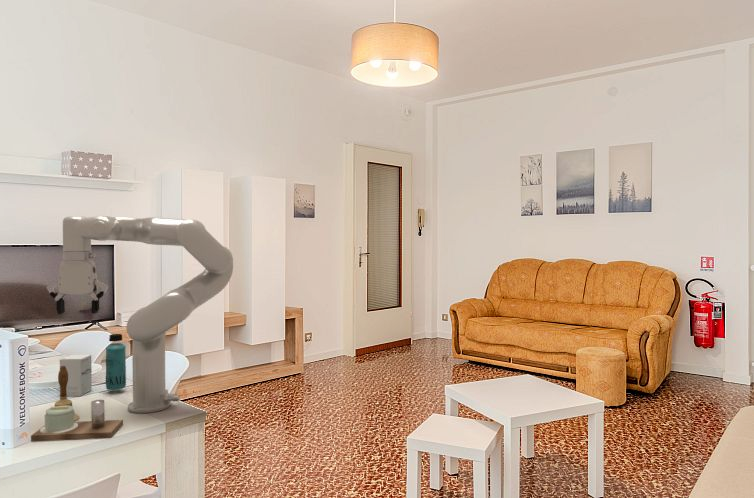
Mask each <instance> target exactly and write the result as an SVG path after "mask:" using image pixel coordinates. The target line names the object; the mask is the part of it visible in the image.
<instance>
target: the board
mask: <svg viewBox="0 0 754 498" xmlns="http://www.w3.org/2000/svg"><path fill="white" fill-rule="evenodd" d="M104 421H105V426H104V427H102V428H97V429H93V428H92V421H91V420H87V421H85V420H83V421H75V422H74V426H73V427H71V428H70V429H66V430H62V431H52V432H49V431H47V430H45V425H43V426H42V427H40V428H39V429H38V430H36V431H35V432H34V433H32V434H31V435H30V442H42V441H43V442H44V441H45V442H46V441H47V442H49V441H66V440H67V441H69V440H90V439H89V438H95V439H111V438H112V437H113V436H114V435H115V434H116V433H117V432H118V431H120V429H121V428H122V427H123V426H122V425H124V419H111V420H110V419H109V420H108V419H107V420H106V419H104ZM121 426H122V427H121ZM120 427H121V428H120ZM119 428H120V429H119Z"/></svg>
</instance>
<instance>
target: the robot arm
mask: <svg viewBox="0 0 754 498" xmlns="http://www.w3.org/2000/svg"><path fill="white" fill-rule="evenodd" d="M92 240H93V241H101V242H102V241H103V242H105V241H119V242H120V241H121V242H122V241H123V242H136V243H144V244H146V245H155V246H157V245H158V246H174V247H175V246H176V247H183V248H184V249H185V250H186V251H187V253H189V254H190V255H191V256H192V257H193V258H194V259H195V260H196V261H197V262H198V263H199V264H201V266H202V267H203V268H204V270H203V271H202V272H201V273H199V274H198V275H197V276H195V277H193V278H191V280H189V281H187V282H185V283H184V284H182V285H180V286H178V287H177V288H174V289H171V290H170V291H168V292H167V293H165V294H164V295H162V296H161V297H160V298H158V299H156V300H154V301H153V302H151V303H150V304H148V305H146V306H145V307H142V308H140V309H138V310H137V311H135V312H134V313H133V314H132V315H131V316H130V317H129V318H128V320H127V322H126V333H127V335H128V337H129V338H130V339H131V340H132V358H131V359H132V401H131V402H130V403H129V404H128V405H127V410H128V411H129V412H131V413H135V414H139V413H140V414H146V413H147V414H148V413H155V412H159V411H162V410H166V409H168V408H170V406H171V405H172V402H179V401H180V399H181V398H180V394H178V393H170V392H169V389H166V333H167V332H168V331H169V330H171V329H172V328H173V329H174V327H176V326H178V325H179V324H181V323H182V322H183V321H185V320H186V319H187V318H188V317H189V316H190V315H191V313H192V312H194V311H195V310H197V308H199V307H201V306H202V305H203V304H205V303H207V302H208V301H210V300H211V299H212V298H214V297H215V296H217V295H218V294H220V293H221V292H222V291H223V290H224V289H225V287H226V286H227V285H228V283H229V282H230V280H231V277H232V276H233V272H234V271H233V270H234V258H233V257H234V256H233V253H232V252H231V250H230V249H229V248H228V247H226V246H223V245H222V244H221V243H220V242H219V241H218V240H217V239H216V238H215V237H214V236H213V235H212V234H211V233H210V232H209V231H208V230H207V229H206V227H205V225H204V224H203V223H202V222H201V221H199V220H195V219H191V218H190V219H184V218H169V217H168V218H167V217H156V216H155V217H153V216H152V217H145V218H135V217H117V216H107V215H106V216H105V215H98V216H96V215H95V216H88V217H87V216H66V217H64V218H63V219H62V249H63V250H62V251H63V252H62V256H63V257H62V258H63V261H62V262H60V266H59V271H58V278H57V280H58V281H55V282H53V283H51V284H49V285H47V286H46V290H47V291H48V293H49V296H51V297H52V298H53V299H54V302H56V304H55V305H56V308H55V309H56V311H57V315H62V314H64V313H65V311H66V309H65V307H66V306H65V304H66V303H65V299H64V298H65V297H66V296H69V295H73V296H75V295H77V296H78V295H89V296H90V297H91V298H92V300H91V314H94V315H95V314H97V313H98V312H99V310H100V300H101V298H103V297H104V296H105V294H106V293H107V290H108V288H109V285H108V284H105V283H104V282H101V281H100V280H98V274H97V273H98V272H97V267H96V262H95V261H92V259H96V257H97V253H93V251H92ZM56 287H57V290H58V292H56V291H55V288H56ZM99 288H100V289H101V290H100V291H99ZM98 291H99V292H98Z"/></svg>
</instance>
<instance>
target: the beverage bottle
mask: <svg viewBox="0 0 754 498" xmlns="http://www.w3.org/2000/svg"><path fill="white" fill-rule="evenodd" d="M108 340H109V342H115V343H110V344H108V345H107V346H106V347H105V388H106V390H109V391H116V390H121V389H125V388H126V387H127V386H126V385H127V365H126V362H127V361H126V360H127V359H126V358H127V357H126V356H127V355H126V347H127V346H126V345H124V343H121V342H120V341H123V335H122V333H112V334H110V335H109V338H108Z"/></svg>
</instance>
